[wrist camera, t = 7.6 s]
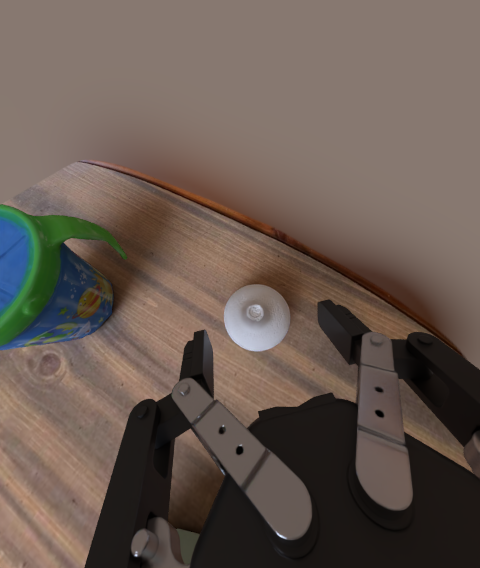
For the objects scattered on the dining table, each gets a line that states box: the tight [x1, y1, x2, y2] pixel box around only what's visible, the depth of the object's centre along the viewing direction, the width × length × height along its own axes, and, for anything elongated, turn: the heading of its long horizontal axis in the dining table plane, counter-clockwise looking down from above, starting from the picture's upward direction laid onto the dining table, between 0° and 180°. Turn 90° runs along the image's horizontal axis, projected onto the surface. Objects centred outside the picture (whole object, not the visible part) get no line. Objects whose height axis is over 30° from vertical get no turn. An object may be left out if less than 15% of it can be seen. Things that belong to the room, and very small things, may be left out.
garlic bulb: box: [224, 284, 290, 351], centre depth 17 cm, size 6×6×8 cm
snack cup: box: [0, 204, 127, 350], centre depth 17 cm, size 16×10×10 cm
